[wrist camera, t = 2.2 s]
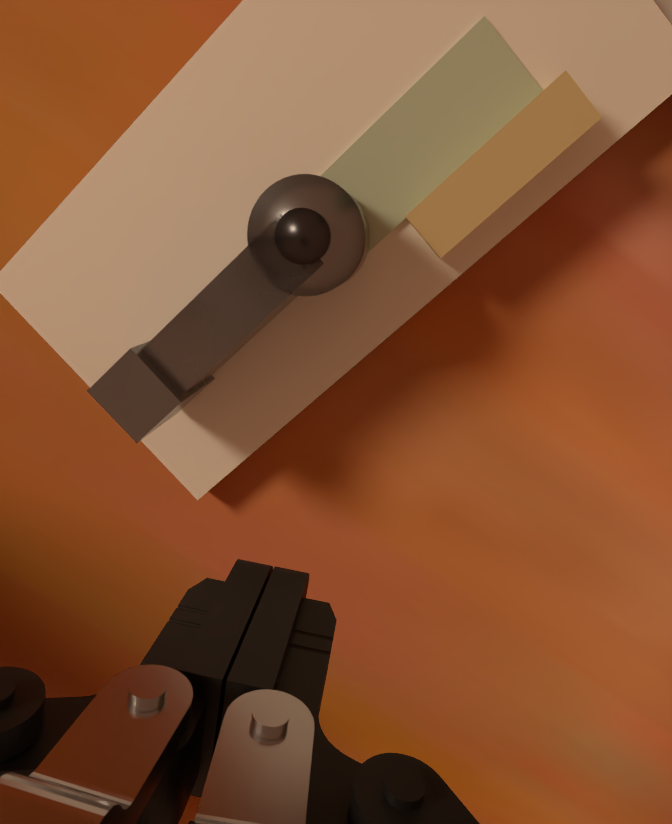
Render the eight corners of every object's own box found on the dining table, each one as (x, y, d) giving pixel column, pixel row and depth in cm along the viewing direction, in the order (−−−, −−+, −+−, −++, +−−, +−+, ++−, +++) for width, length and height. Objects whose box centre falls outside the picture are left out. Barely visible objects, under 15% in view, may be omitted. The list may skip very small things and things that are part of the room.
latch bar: (323, 160, 24) (305, 143, 20) (390, 241, 25) (387, 241, 20) (123, 356, 27) (71, 377, 23) (188, 425, 27) (149, 457, 23)
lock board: (205, 490, 30) (184, 516, 27) (7, 281, 28) (-39, 285, 25) (688, 76, 23) (727, 53, 20) (465, -226, 22) (474, -298, 19)
